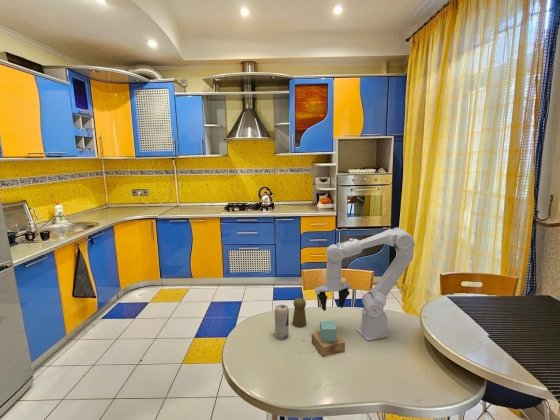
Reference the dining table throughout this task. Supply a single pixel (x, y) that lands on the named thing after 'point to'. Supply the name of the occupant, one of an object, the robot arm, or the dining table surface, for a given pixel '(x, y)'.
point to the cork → (299, 313)
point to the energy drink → (281, 322)
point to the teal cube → (328, 331)
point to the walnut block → (328, 345)
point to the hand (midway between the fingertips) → (332, 308)
